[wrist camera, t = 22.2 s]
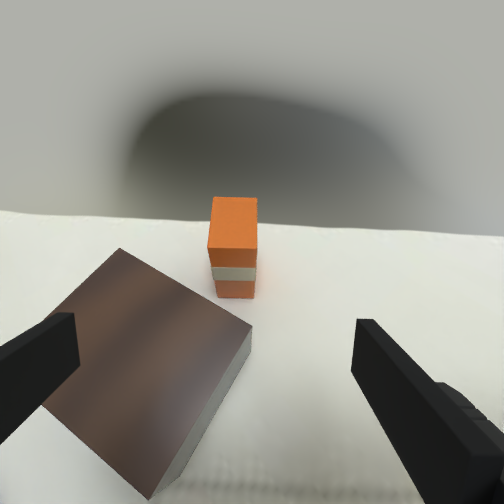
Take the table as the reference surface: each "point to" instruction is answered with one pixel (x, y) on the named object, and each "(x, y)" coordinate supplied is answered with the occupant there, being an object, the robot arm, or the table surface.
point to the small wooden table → (146, 369)
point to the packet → (233, 246)
